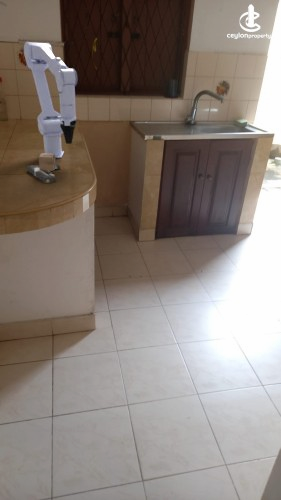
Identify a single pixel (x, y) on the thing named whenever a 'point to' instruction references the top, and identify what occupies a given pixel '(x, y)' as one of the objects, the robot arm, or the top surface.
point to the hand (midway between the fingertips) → (69, 141)
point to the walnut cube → (47, 161)
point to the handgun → (42, 173)
